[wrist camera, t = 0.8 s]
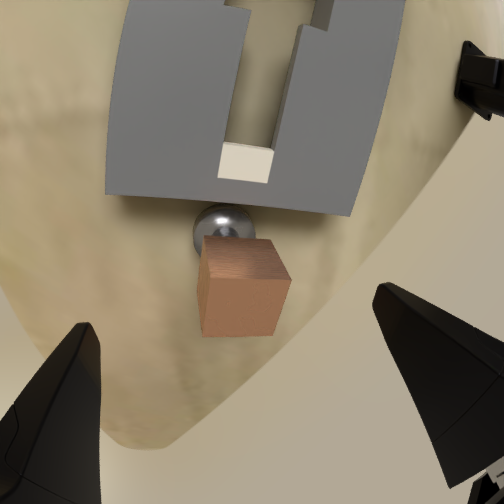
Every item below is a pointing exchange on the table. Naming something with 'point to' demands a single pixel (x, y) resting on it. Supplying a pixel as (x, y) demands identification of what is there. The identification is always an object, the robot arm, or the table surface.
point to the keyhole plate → (219, 100)
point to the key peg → (237, 275)
